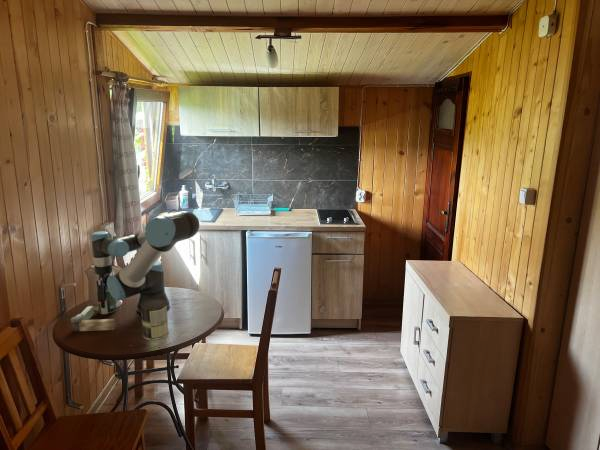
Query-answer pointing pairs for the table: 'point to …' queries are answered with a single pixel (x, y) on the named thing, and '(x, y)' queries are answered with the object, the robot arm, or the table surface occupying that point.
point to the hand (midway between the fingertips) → (108, 309)
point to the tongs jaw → (84, 315)
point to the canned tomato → (109, 302)
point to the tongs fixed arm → (94, 325)
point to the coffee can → (154, 319)
